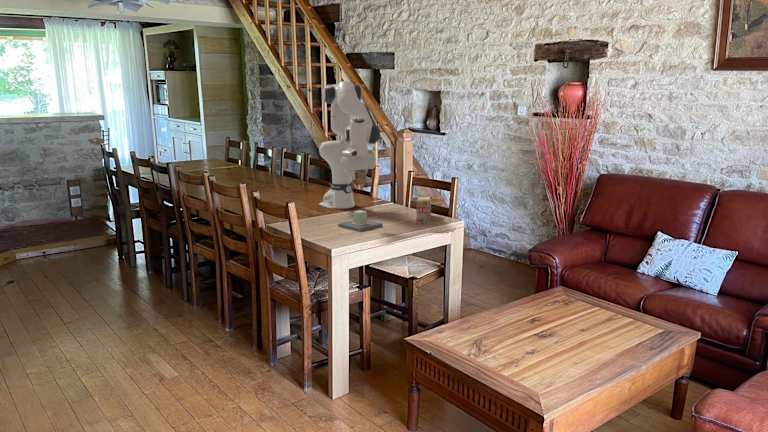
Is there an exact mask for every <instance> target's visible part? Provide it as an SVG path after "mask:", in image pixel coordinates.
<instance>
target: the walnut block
mask: <svg viewBox="0 0 768 432" xmlns="http://www.w3.org/2000/svg"><path fill="white" fill-rule="evenodd" d="M355 176H357V179H356V180H353V179H352V178H351V182H352V185H358V186H360V185H367V174H366V172H364V171H362V170H357V171H355Z"/></svg>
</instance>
